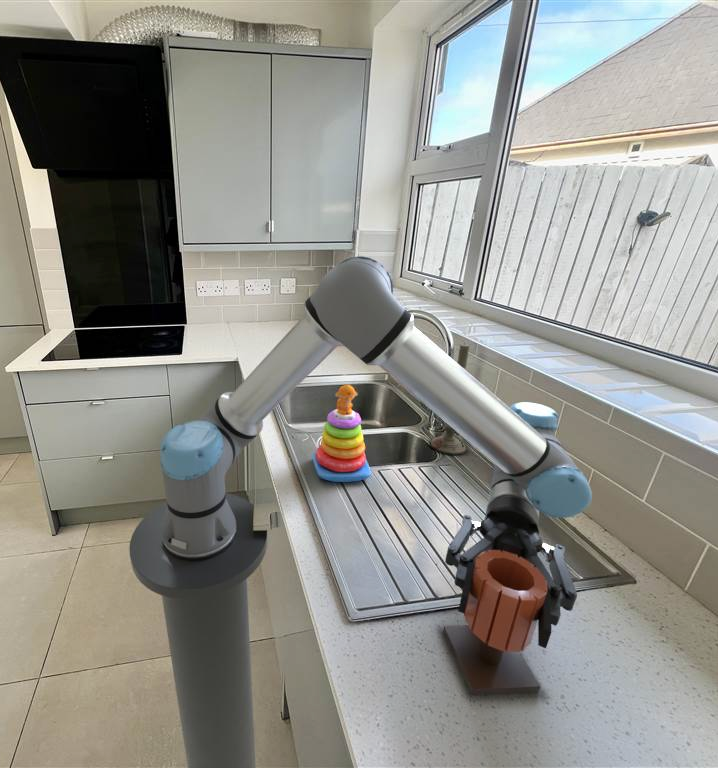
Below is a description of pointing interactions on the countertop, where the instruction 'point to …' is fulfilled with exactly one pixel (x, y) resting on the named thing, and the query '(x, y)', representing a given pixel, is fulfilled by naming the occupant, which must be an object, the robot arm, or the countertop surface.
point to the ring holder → (488, 665)
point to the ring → (505, 600)
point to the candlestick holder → (448, 441)
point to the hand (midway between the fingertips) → (502, 621)
